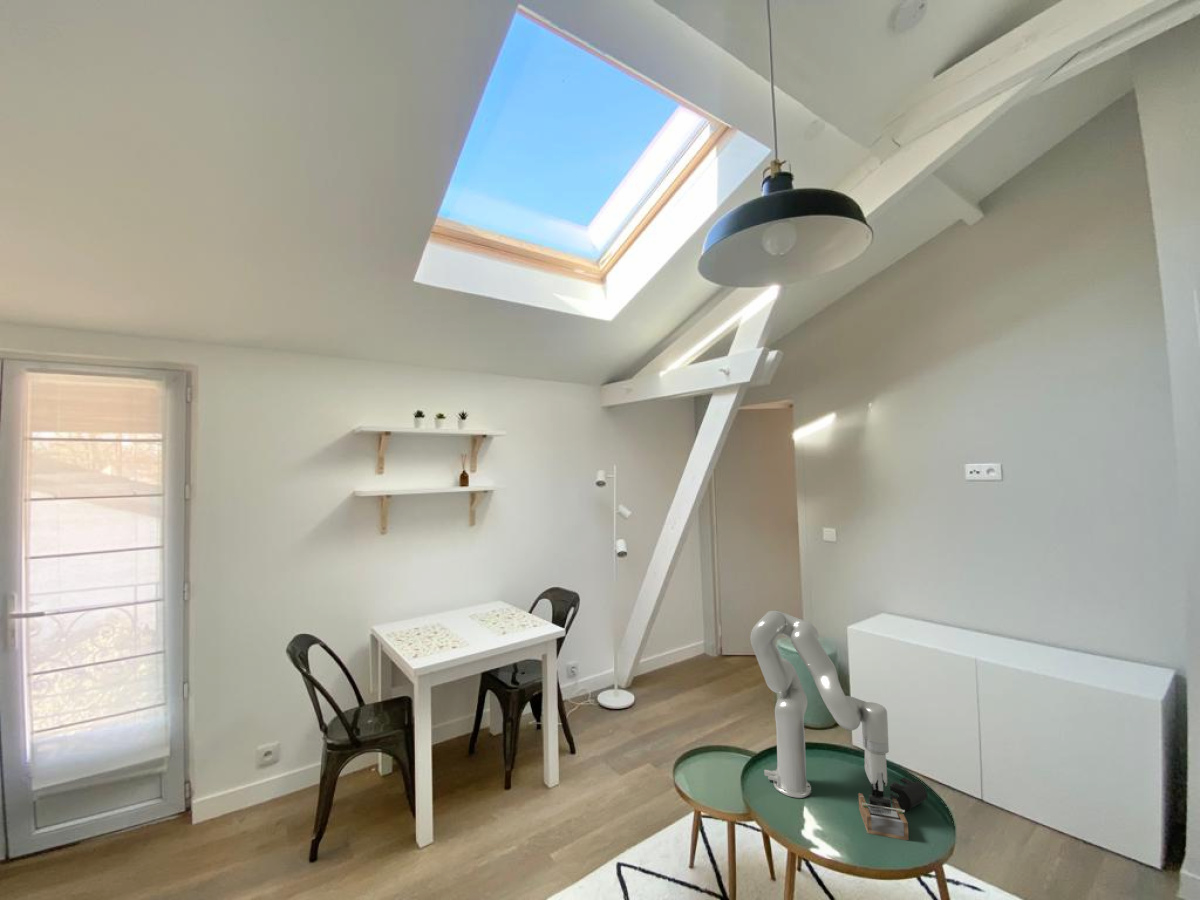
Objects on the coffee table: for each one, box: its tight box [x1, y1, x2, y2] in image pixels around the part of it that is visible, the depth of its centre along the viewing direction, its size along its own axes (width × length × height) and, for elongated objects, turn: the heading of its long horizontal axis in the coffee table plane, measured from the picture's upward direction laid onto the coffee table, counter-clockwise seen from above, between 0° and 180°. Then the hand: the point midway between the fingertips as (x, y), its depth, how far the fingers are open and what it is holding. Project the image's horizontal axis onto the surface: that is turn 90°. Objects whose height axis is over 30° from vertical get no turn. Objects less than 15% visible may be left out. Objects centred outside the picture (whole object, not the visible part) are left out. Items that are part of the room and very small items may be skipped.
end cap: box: [889, 777, 928, 812], centre depth 166 cm, size 10×7×7 cm
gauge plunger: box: [862, 794, 906, 820], centre depth 157 cm, size 12×6×5 cm, turn 73°
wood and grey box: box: [858, 792, 910, 841], centre depth 156 cm, size 11×12×5 cm
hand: (877, 801), depth 162 cm, fingers closed
